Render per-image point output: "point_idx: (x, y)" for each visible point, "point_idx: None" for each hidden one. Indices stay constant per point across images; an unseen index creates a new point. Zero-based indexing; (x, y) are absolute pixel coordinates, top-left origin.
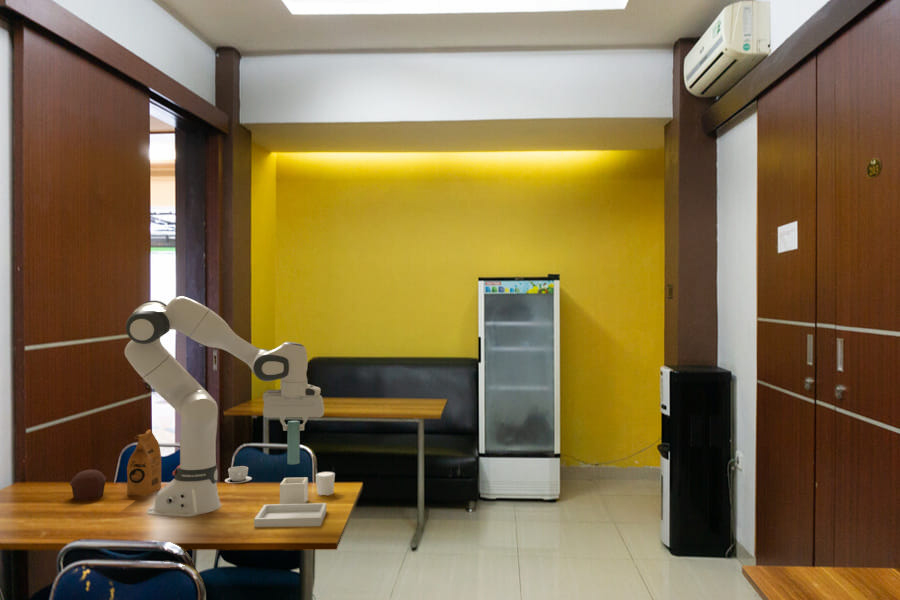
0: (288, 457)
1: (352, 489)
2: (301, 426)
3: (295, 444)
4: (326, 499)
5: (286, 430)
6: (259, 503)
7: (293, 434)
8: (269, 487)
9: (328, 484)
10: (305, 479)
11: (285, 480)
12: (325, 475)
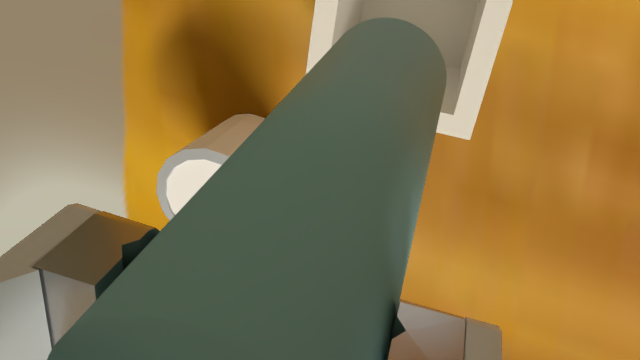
0: (431, 67)
1: (130, 166)
2: (58, 252)
3: (309, 87)
4: (240, 43)
5: (421, 309)
6: (633, 81)
7: (290, 155)
8: (529, 332)
9: (209, 133)
10: (317, 49)
11: (468, 66)
12: (206, 175)
